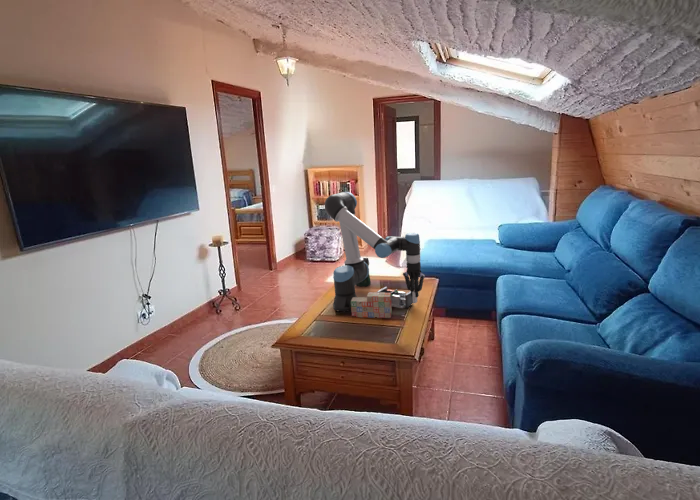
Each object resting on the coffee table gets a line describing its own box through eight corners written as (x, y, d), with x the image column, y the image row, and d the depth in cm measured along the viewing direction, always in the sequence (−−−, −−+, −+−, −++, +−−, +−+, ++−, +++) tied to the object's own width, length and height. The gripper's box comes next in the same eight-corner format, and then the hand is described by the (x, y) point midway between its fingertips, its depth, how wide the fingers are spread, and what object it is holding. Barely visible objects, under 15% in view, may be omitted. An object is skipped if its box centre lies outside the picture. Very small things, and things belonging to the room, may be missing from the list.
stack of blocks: (351, 317, 221) (349, 296, 218) (354, 312, 227) (352, 291, 224) (390, 318, 216) (389, 296, 213) (392, 313, 222) (391, 292, 219)
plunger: (406, 308, 226) (406, 295, 224) (383, 304, 235) (382, 291, 233) (414, 303, 233) (414, 290, 231) (391, 298, 242) (390, 286, 240)
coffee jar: (371, 283, 273) (370, 256, 269) (368, 287, 266) (366, 259, 261) (358, 282, 276) (356, 256, 272) (354, 286, 269) (352, 259, 264)
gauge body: (403, 308, 227) (402, 296, 225) (377, 303, 237) (377, 291, 235) (411, 303, 234) (410, 290, 232) (385, 298, 244) (385, 286, 242)
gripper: (427, 261, 220) (428, 301, 226) (406, 258, 228) (408, 298, 234) (421, 264, 214) (422, 306, 220) (399, 262, 222) (401, 302, 228)
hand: (415, 302), depth 227 cm, fingers closed
